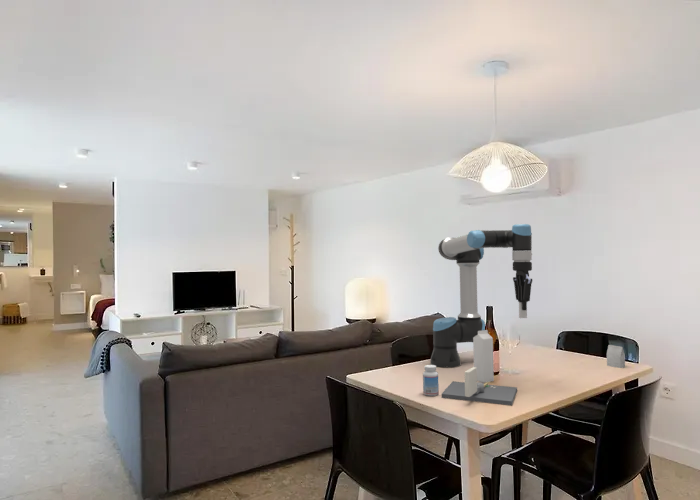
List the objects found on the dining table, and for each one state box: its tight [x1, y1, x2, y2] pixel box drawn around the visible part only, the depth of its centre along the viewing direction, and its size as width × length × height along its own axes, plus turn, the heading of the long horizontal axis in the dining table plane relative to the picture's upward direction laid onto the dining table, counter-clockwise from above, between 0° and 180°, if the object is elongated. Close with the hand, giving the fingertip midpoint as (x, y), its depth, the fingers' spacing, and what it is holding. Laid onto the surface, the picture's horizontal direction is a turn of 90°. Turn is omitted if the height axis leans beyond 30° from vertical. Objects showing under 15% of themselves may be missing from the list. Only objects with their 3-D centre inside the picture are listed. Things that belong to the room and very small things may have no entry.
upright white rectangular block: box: [464, 366, 490, 397], centre depth 182 cm, size 25×4×10 cm, turn 146°
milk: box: [472, 329, 495, 384], centre depth 205 cm, size 6×6×22 cm
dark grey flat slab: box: [441, 380, 518, 406], centre depth 184 cm, size 26×20×2 cm
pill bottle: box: [422, 364, 440, 397], centre depth 186 cm, size 6×6×11 cm
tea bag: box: [606, 344, 626, 369], centre depth 227 cm, size 4×7×10 cm, turn 31°
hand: (523, 317), depth 194 cm, fingers closed
